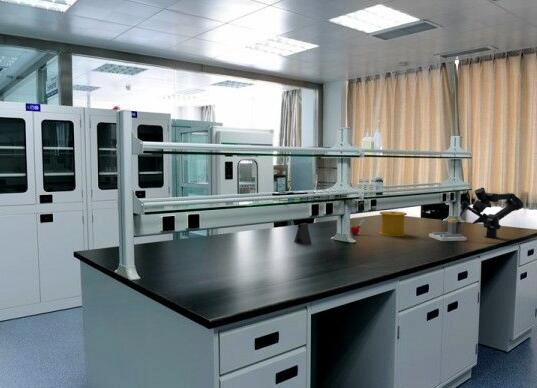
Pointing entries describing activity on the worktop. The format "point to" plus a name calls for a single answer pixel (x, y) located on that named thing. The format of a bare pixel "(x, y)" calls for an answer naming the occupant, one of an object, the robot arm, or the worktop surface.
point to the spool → (392, 223)
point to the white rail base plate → (447, 236)
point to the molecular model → (356, 229)
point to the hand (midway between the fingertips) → (466, 219)
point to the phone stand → (303, 234)
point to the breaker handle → (451, 226)
